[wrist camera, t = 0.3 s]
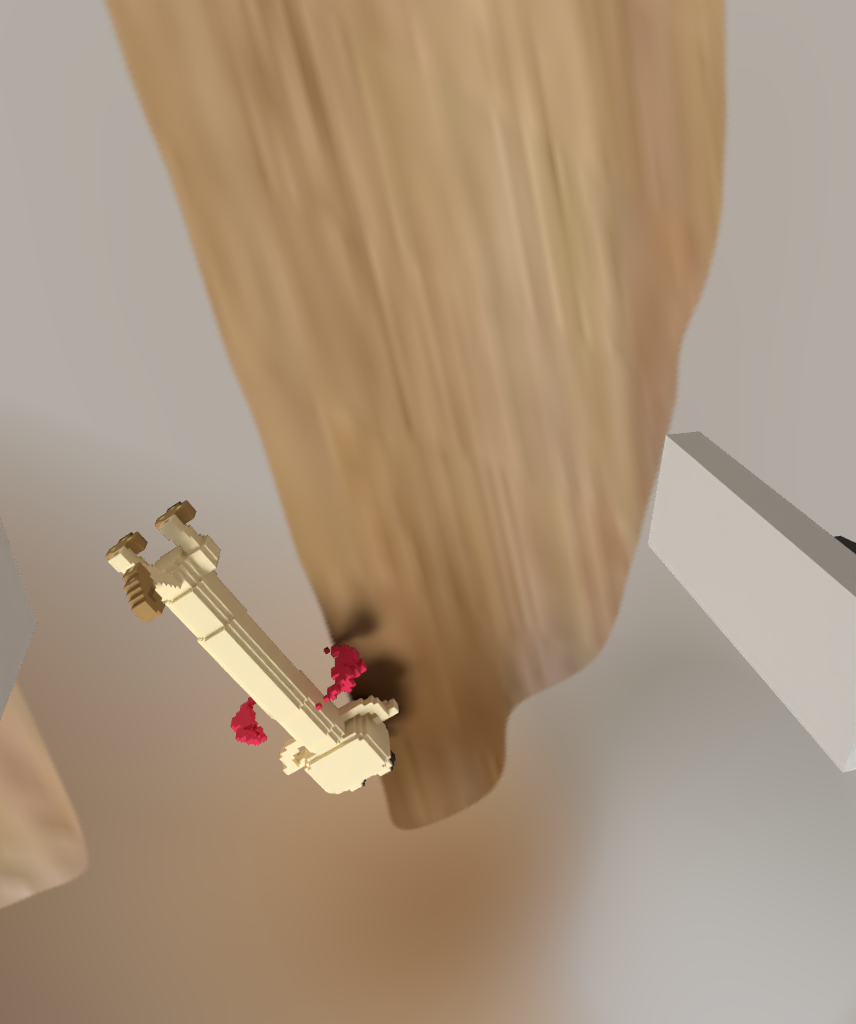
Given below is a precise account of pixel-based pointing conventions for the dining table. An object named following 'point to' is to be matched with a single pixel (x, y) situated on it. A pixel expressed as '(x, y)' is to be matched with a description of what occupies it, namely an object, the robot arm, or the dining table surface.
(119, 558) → the cream elongated piece
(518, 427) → the dining table surface
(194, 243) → the dining table surface
